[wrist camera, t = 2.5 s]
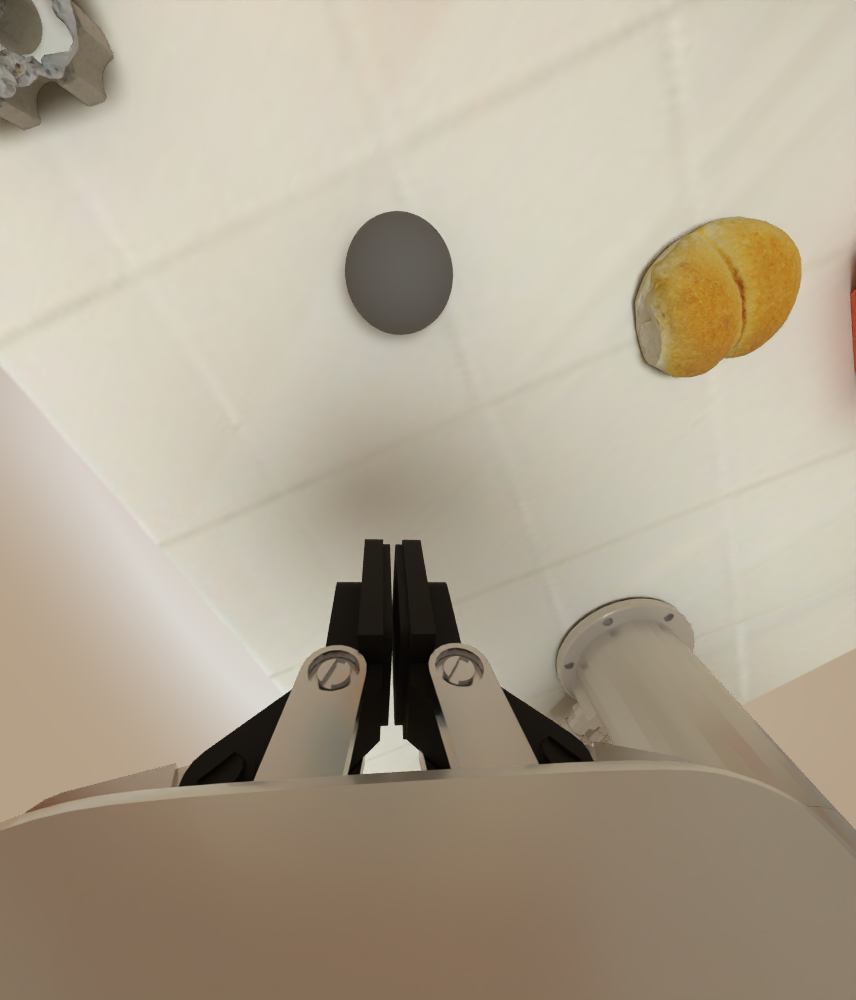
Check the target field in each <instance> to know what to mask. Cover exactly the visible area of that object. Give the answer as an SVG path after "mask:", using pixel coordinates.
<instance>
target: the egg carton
mask: <svg viewBox="0 0 856 1000" xmlns="http://www.w3.org/2000/svg"><path fill="white" fill-rule="evenodd" d="M53 2H54V5H53V7H52V9H53V10H54V12H55V14H56V16H57V17H58V18H59V19H60V20H61V21H63V22H64V23H65V25H66V26H67V28H68V30H69V31H70V34H71V36H72V38H73V44H72V45H71V47H70V50H69V52H61V53H55V54H49V55H44V56H43V57H42V59H41V62H42V64H40V63H39V62H38V61H37V60H36V59H35V58H34V57H33V56H31V57H27V58H26V57H24V56H22V55H20V54H17V53H23V54H29V53H31V52H34V51H35V50H36V49H37V47H38V46H39V44H40V42H41V38H42V23H41V19H40V16H39V14H38V11H37V9H36V7H35V5H34V4H33V2H32V1H31V0H0V43H1V44H2V45H4V46H5V47H7V48H8V49H10V50H6V49H4V50H2V51H0V117H1V118H3V119H5V120H7V121H8V122H10V123H12V124H14V125H16V126H18V127H19V128H21V129H23V130H26V129H30V128H32V127H35V126H37V125H40V123H41V120H40V117H39V114H38V110H37V95H38V92H39V90H40V88H41V87H42V86H43V85H44V84H46V83H49V82H57V83H58V84H59V85H60V86H61V87H63V88H64V89H66V90H67V91H68V92H70V93H71V94H73V95H74V96H75V97H77V98H78V99H79V100H80V101H82V102H83V103H84V104H85V105H87V106H93V105H96V104H99V103H102V102H104V101H105V100H106V95H105V92H104V88H103V81H102V76H103V71H104V69H105V66H106V65H107V64H108V63H109V61H110V60H112V59H113V58H114V56H113V52H112V50H111V48H110V46H109V44H108V42H107V39H106V37H105V35H104V33H103V32H102V30H101V29H100V27H98V26H97V25H96V24H95V23H94V22H93V21H92V19H90V18H89V17H88V16H87V15H86V14H85V13H84V12H83V11H82V10H81V9H80V8H79V7H78V6H77V5H76V4H75V3H74V2H73V1H72V0H53ZM13 51H14V52H13ZM15 52H16V53H15Z"/></svg>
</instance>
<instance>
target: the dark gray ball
mask: <svg viewBox="0 0 856 1000" xmlns="http://www.w3.org/2000/svg"><path fill="white" fill-rule="evenodd" d="M345 277H346V284H347V288H348V292H349V295H350V297H351V300H352V302H353V304H354V306H355V307H356V309H357V310H358V312H359V313H360V314H361V315H362V317H363V318H364V319H365V320H366V321H367V322H369V323H370V324H371V325H373V326H374V327H376V328H378V329H380V330H382V331H384V332H387V333H391V334H400V335H403V334H410V333H415V332H417V331H420V330H422V329H424V328H426V327H427V326H428V325H430V324H431V323H432V322H433V321H435V320H436V319H437V318H438V316H439V315H440V314H441V312H442V311H443V309H444V308H445V306H446V304H447V302H448V299H449V296H450V293H451V289H452V282H453V268H452V261H451V257H450V254H449V251H448V248H447V246H446V244H445V242H444V240H443V238H442V237H441V235H440V234H439V233H438V231H437V230H436V229H435V228H434V227H433V226H432V225H431V224H430V223H428V222H427V221H426V220H424V219H423V218H421V217H419V216H417V215H414V214H412V213H408V212H401V211H393V212H387V213H383V214H380V215H378V216H375V217H374V218H372V219H370V220H369V221H368V222H366V223H365V224H364V225H363V226H362V227H361V228H360V229H359V230H358V232H357V233H356V235H355V236H354V238H353V240H352V242H351V244H350V247H349V249H348V253H347V257H346V264H345Z"/></svg>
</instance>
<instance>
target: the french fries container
mask: <svg viewBox="0 0 856 1000" xmlns="http://www.w3.org/2000/svg"><path fill="white" fill-rule="evenodd" d="M851 311H852V328H853V346H854V363H855V371H856V289H855V290H854V291H853V292H852V293H851Z"/></svg>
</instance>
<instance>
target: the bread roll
mask: <svg viewBox="0 0 856 1000" xmlns="http://www.w3.org/2000/svg"><path fill="white" fill-rule="evenodd" d="M800 281H801V258H800V254H799V250H798V249H797V247H796V245H795V243H794V242H793V240H792V239H791V238H790V237H789V236H788V234H786V233H785V232H784V231H783V230H781V229H779V228H778V227H776V226H774V225H772V224H770V223H768V222H766V221H762V220H757V219H751V218H744V217H729V218H722V219H719V220H715V221H711V222H709V223H707V224H705V225H703V226H701V227H700V228H699V229H697V230H695V231H694V232H691V233H689V234H688V235H686V236H684V237H682V238H680V239H678V240H677V241H675V242H674V243H673V244H672V245H670V246H669V247H668V248H667V249H666V250H665V251H664V252H663V253H662V254H661V255H660V256H659V257H658V258H657V259H656V260H655V262H654V263H653V264H652V266H651V267H650V268H649V269H648V271H647V272H646V274H645V276H644V278H643V280H642V283H641V285H640V288H639V291H638V294H637V297H636V300H635V314H636V332H637V336H638V340H639V344H640V348H641V351H642V353H643V356H644V358H645V360H646V361H647V362H648V364H649V365H652V366H654V367H656V368H658V369H660V370H662V371H663V372H665V373H667V374H668V375H670V376H673V377H694V376H697V375H701V374H704V373H706V372H708V371H709V370H711V369H712V368H713V367H714V366H716V365H717V364H718V363H719V361H721V360H722V359H723V358H734V357H739V356H743V355H746V354H748V353H751V352H753V351H754V350H756V349H757V348H759V347H760V346H762V345H763V344H764V343H765V342H767V341H768V340H769V339H770V338H771V337H772V336H773V335H774V334H775V333H776V332H777V331H778V330H779V329H780V328H781V327H782V325H783V324H784V322H785V321H786V320H787V318H788V316H789V314H790V312H791V310H792V308H793V305H794V303H795V300H796V297H797V294H798V291H799V288H800Z"/></svg>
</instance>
